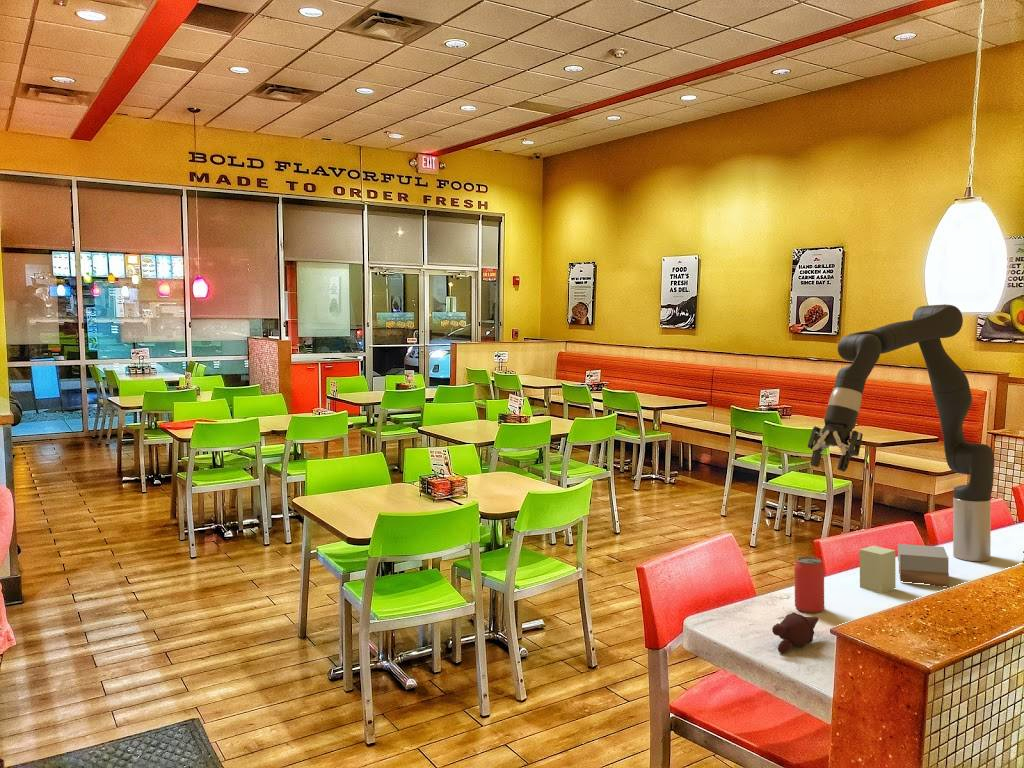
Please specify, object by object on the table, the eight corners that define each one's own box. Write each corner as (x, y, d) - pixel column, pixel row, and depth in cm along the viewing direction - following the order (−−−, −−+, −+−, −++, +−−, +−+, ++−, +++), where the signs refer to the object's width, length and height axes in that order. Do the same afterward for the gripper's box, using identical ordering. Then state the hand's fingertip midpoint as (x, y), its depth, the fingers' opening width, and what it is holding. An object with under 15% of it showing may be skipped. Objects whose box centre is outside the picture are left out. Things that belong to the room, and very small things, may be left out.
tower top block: (897, 557, 209) (897, 543, 209) (943, 561, 204) (943, 546, 204) (900, 569, 199) (900, 554, 199) (948, 573, 194) (948, 558, 194)
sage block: (873, 583, 200) (873, 545, 199) (895, 588, 194) (895, 550, 194) (859, 587, 196) (859, 549, 196) (881, 593, 191) (881, 554, 191)
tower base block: (898, 572, 209) (898, 558, 209) (944, 576, 204) (944, 561, 204) (900, 584, 199) (900, 569, 199) (948, 589, 194) (948, 573, 194)
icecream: (798, 601, 169) (757, 623, 160) (828, 602, 163) (786, 624, 154) (807, 633, 168) (766, 656, 160) (837, 634, 162) (795, 659, 154)
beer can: (819, 616, 177) (819, 565, 177) (791, 610, 181) (790, 561, 181) (827, 607, 182) (827, 558, 182) (799, 602, 186) (799, 554, 186)
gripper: (876, 414, 190) (860, 476, 189) (831, 410, 203) (815, 468, 202) (856, 405, 187) (840, 468, 186) (811, 402, 200) (795, 461, 199)
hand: (827, 468), depth 194 cm, fingers open, 8 cm apart
